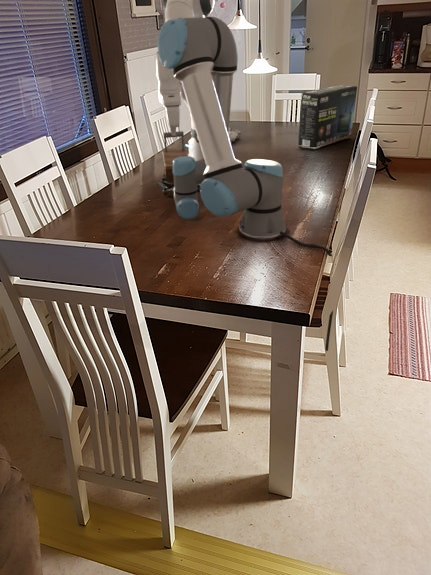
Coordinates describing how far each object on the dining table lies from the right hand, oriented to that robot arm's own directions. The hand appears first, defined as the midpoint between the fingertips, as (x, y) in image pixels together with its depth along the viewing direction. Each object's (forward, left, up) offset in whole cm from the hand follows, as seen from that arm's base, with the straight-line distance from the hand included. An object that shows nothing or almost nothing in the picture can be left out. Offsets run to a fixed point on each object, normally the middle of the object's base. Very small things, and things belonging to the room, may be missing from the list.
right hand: (178, 176), depth 182 cm
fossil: (+25, -82, -7) cm, 87 cm away
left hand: (+5, -6, +15) cm, 17 cm away
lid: (+3, -3, +6) cm, 7 cm away
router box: (-28, -98, -7) cm, 102 cm away
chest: (+2, -3, -7) cm, 8 cm away
